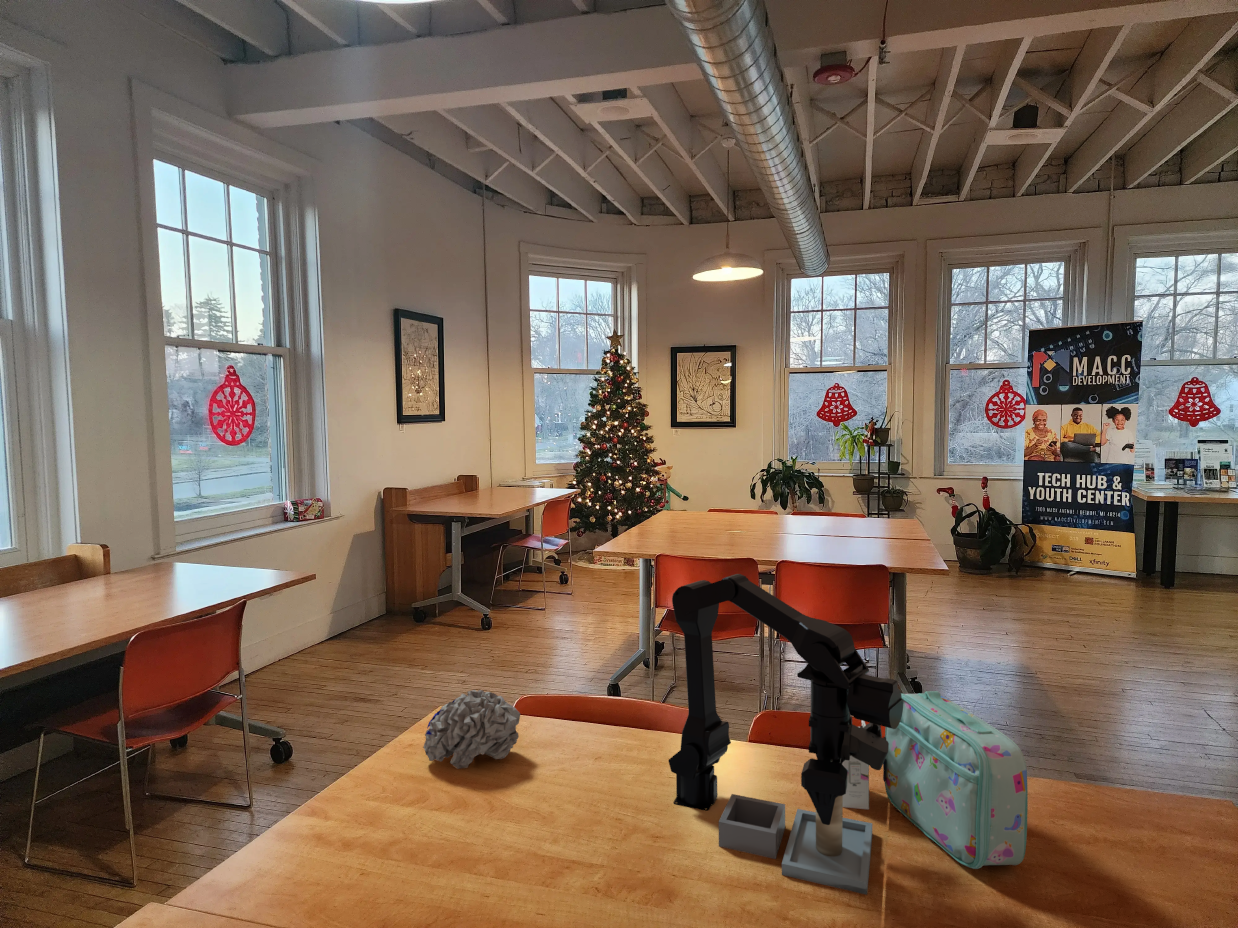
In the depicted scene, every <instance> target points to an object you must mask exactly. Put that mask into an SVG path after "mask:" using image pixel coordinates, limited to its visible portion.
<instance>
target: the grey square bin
mask: <svg viewBox="0 0 1238 928" xmlns="http://www.w3.org/2000/svg"><path fill="white" fill-rule="evenodd" d="M785 830H786V804H785V803H782V802H781V803H780V802H777V801H776V802H775V801H770V800H766V799H765V800H764V799H760V798H756V797H749V796H745V795H738V794H733V793H731V794H730V797H729V799H728V802H727V803H726V805H725V807H724V810H723V812H722V813H721V816H720V818H719V820H718V847H720V848H725V849H728V850H729V849H730V850H734V851H738V852H742V853H748V854H751V855H754V856H755V855H756V856H760V857H764V858H770V859H774V860H776V859H777V856H778V852H779V850H780V846H781V844H782V840H783V836H784V833H785Z"/></svg>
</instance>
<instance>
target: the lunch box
mask: <svg viewBox="0 0 1238 928" xmlns="http://www.w3.org/2000/svg"><path fill="white" fill-rule="evenodd" d="M901 696H902V699H903V712H902V717H901V720H900V723H899V725H898V727H897V728H896V729H892V728H888V727H885V731H884V732H885V734H884V737H886V740H887V741H888V743H889V748H888V754H887V756H886V758H885V761H884V763H883V765H882V769H883V774H882V781H883V782H884V787H885V793H886V795H887V798H888V799H889V802H890V803H891V804H892V805H893V806H894V808H896V809H897V810H898V811H899V812H900V813H901V814H902V815H903V816H904V817H905V818H906V819H907V820H908V821H909V822H910V823H912V824H913V825H914V826H915V827H916V828H918V829H919V830H920V831H921V832H922V833H923V834H924V835H925V836H926V837H928V838H929V839H930V840H932V842H935V844H937V845H938V846H939V847H940V848H941V849H943V850H944V851H945V852H946V853H947V854H948V855H950V856H951V857H952V858H953V859H954V860H955V861H957V862H958V863H960V864H961V865H963V866H965V867H968V868H970V869H973V870H978V869H981V868H982V867H983V866H1008V865H1009V866H1011V865H1012V866H1017V865H1019V864H1021V863H1022V862H1023V860H1024V858H1025V855H1026V850H1027V849H1026V847H1027V837H1028V836H1027V833H1028V814H1029V813H1028V803H1029V802H1028V798H1029V797H1028V795H1029V793H1028V792H1029V791H1028V769H1027V764H1026V763H1027V762H1026V760H1025V756H1024V754H1023V752H1022V750H1021V749H1020V747H1019V746H1018V745H1017V744H1016V743H1015V742H1014V741H1013V740H1012V739H1011V738H1009V737H1008V736H1007V735H1006V734H1004V733H1002V732H1001V731H1000V730H998V729H997V728H995V727H994V726H992V725H991V724H989V723H987V722H986V721H985V720H983V719H981V718H980V717H978V716H977V715H975V714H974V713H972V712H970V711H969V710H967V709H965V708H964V707H962V706H961V705H960V704H959V705H958V704H957V703H956V702H953V701H952V700H950V699H949V698H946V697H944V696H942V695H941V693H940V691H936V690H935V691H925V692H921V693H920V692H919V693H902V692H901Z"/></svg>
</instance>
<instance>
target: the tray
mask: <svg viewBox="0 0 1238 928" xmlns="http://www.w3.org/2000/svg"><path fill="white" fill-rule="evenodd" d="M795 813H796V814H795V815H794V816H795V817H794V820H793V822H792V826H791V830H790V834H789V838H788V840H787V844H786V848H785V851H784V854H783V858H782V862H781V876H784V877H785V876H786V877H789V878H793V879H798V880H802V881H807V882H811V883H815V884H819V885H823V886H828V887H831V888H836V889H840V890H845V891H850V892H853V893H858V894H861V895H866V896H868V889H869V888H868V886H869V876H870V867H871V866H870V863H871V853H872V843H873V842H872V841H873V823H872V822H867V821H862V820H858V819H857V820H856V819H852V818H847V817H843V822H842V853H841V854H840V855H839V856H835V857H831V856H826V855H823V854H821V853H819V852H818V851H817V849H816V811H810V810H806V809H800V808H797V809H796V812H795Z"/></svg>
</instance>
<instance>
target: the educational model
mask: <svg viewBox="0 0 1238 928" xmlns="http://www.w3.org/2000/svg"><path fill="white" fill-rule="evenodd" d="M520 719H521V713H520V711H518V709H517V708H516V707H515V706H513V705H511V703H508V702H507V701H506V700H505V699H504V696H502V695H497V694H496V693H494V692H492V691H484V690H481V689H479V690H476V689H473V690H469V691H467V694H465V693H461V695H460V696H458V697H456V698H455V699H453V700H452V701H448V703H446V704H444V705H443V706H441V708H440V709H439V711H437V712H436V713H434V715H433V716H432V717H431V719H430V721H429V722H428V724H427V727H426V728H427V730H426V731H425V734H424V736H425V741H424V742H423V747H422V748H423V749H424V752H425V756H426V757H428V760H429V761H431V762H433V761H438V762H443V760H444V759H445V758H448V759H449V758H450V757H451V756H452V758H451V759H450V762H449V764H451V765H452V767H454V768H456V769H457V770H458V769H467V768H469V765H470V764H471V763H473V761H474V758H475V757H476V756H477V757H478V756H479V755H482V756H483V755H486V756H489V757H491V758H493V759H495V760H502V759H505V758H506V757H507V756H508V755H509V753H510V751H511V749H513V748H514V747H513V746H514V745H516V744H517V741H518V739H519V737H520V736H519V731H518V732H517V725H519V724H520Z"/></svg>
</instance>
